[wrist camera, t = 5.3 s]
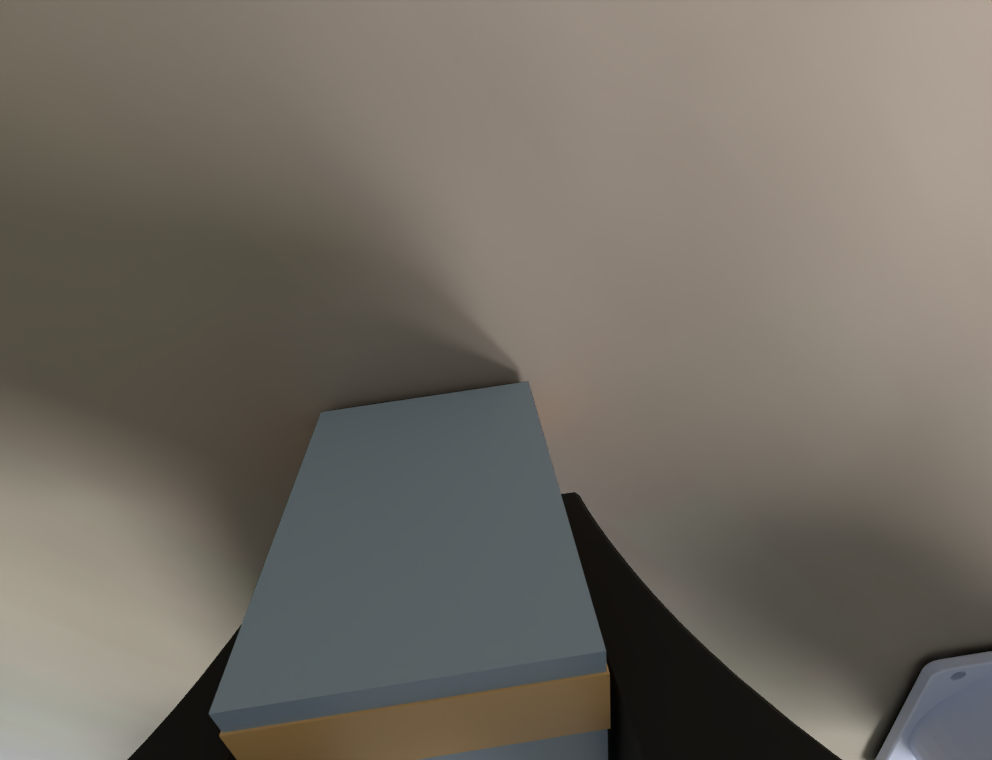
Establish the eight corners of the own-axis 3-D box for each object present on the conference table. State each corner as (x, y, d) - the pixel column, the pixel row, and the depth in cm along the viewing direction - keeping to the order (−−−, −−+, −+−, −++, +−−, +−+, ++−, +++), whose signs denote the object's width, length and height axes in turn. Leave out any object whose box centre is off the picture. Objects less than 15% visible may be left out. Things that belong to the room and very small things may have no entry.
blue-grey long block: (529, 380, 11) (609, 653, 6) (563, 724, 18) (613, 989, 13) (319, 411, 11) (204, 717, 6) (436, 745, 18) (434, 1019, 13)
